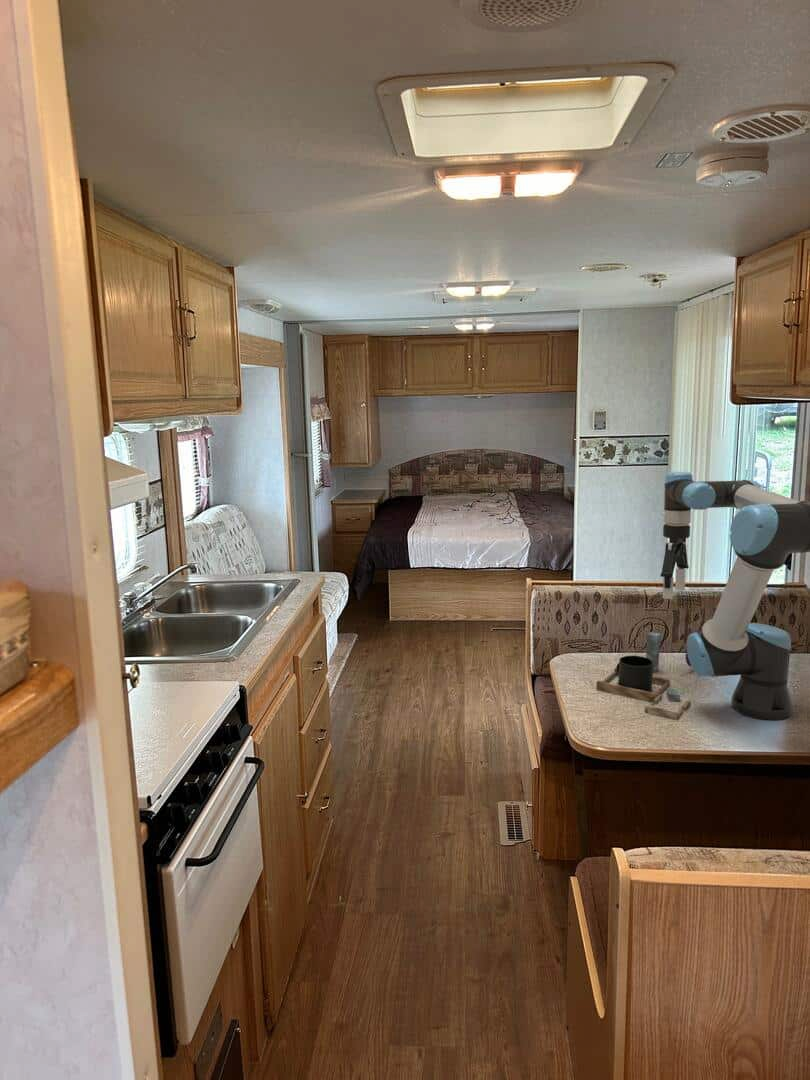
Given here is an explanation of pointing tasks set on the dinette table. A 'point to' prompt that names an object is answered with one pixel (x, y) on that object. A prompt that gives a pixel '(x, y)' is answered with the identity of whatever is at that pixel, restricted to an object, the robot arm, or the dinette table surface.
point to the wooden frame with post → (653, 655)
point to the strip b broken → (672, 696)
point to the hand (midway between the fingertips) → (673, 594)
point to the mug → (635, 672)
